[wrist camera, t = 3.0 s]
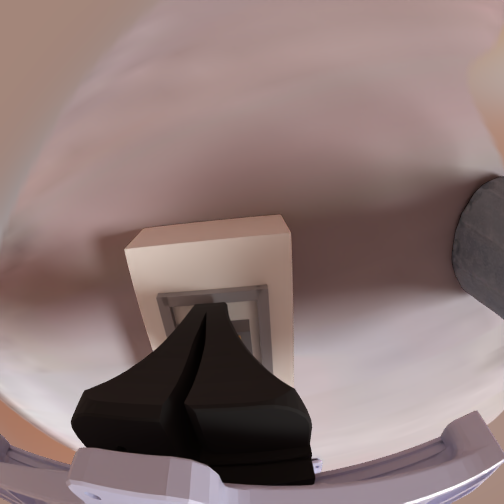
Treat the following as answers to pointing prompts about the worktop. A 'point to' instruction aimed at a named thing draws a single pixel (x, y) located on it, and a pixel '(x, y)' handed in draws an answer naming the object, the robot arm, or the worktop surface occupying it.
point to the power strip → (220, 280)
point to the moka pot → (482, 246)
